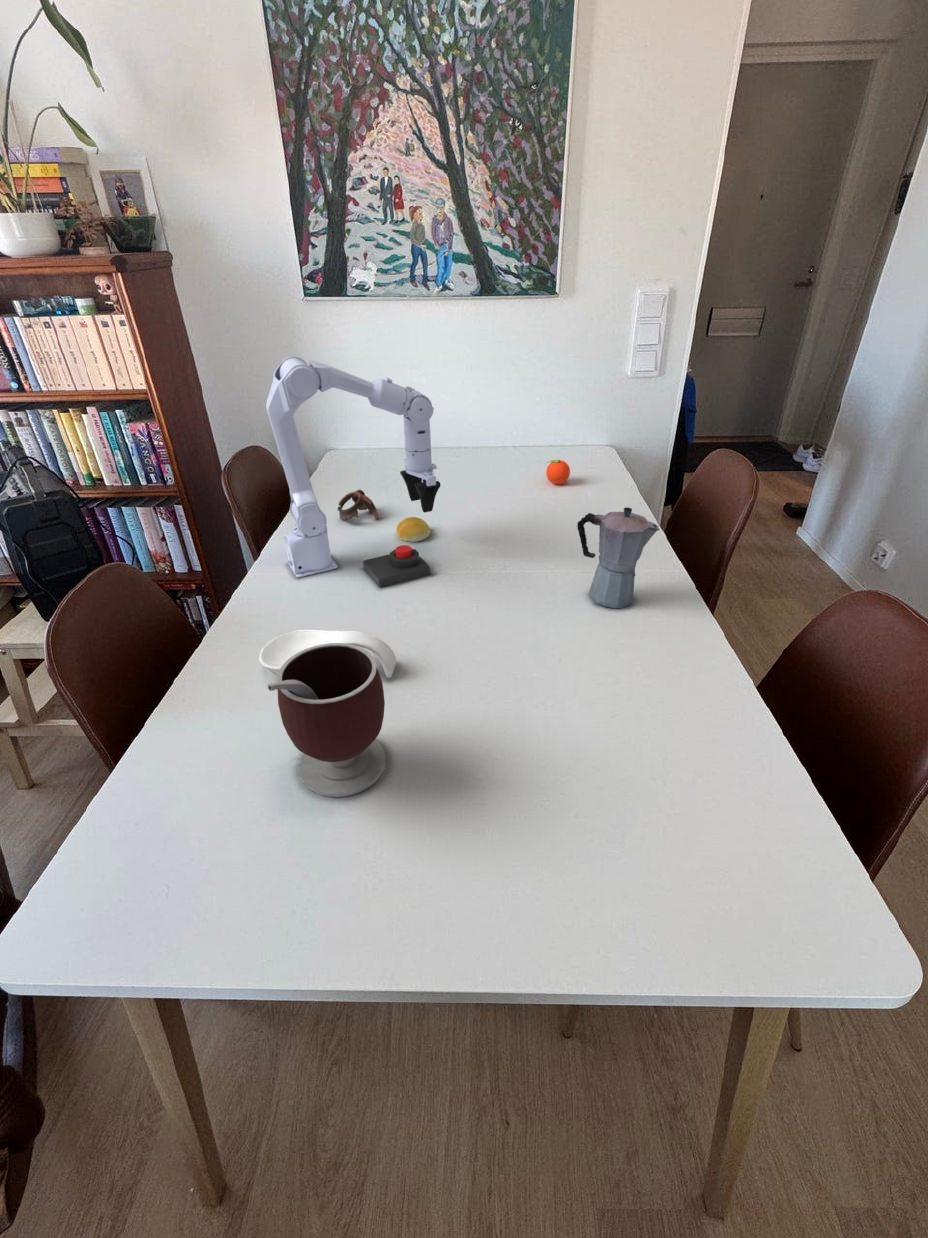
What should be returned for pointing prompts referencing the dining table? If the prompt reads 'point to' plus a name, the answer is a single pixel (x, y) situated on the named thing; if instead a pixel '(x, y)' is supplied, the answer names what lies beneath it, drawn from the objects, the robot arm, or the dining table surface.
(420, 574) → the push button base
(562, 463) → the clementine
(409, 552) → the power button
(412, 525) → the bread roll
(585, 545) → the moka pot
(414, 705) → the dining table surface
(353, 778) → the mate gourd
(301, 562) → the robot arm
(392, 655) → the spoon rest
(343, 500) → the brown looped frame
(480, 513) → the dining table surface
